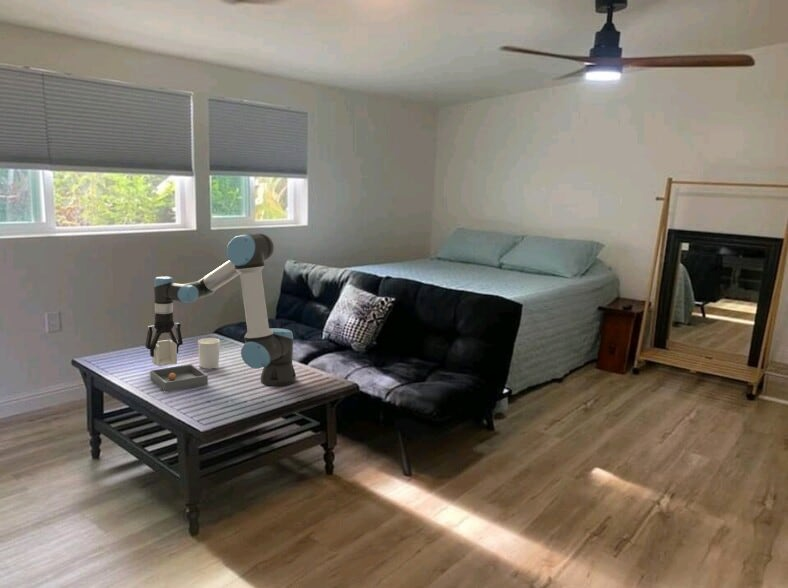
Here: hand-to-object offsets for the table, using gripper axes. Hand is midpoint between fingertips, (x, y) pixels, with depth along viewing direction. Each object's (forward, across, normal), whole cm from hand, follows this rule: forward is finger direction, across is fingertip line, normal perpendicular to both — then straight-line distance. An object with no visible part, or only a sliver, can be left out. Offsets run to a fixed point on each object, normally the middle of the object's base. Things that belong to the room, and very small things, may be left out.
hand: (164, 361), depth 248 cm
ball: (+2, +2, +16) cm, 16 cm away
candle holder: (+4, -19, +3) cm, 20 cm away
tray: (+4, 0, +17) cm, 18 cm away
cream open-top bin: (0, 0, 0) cm, 0 cm away
